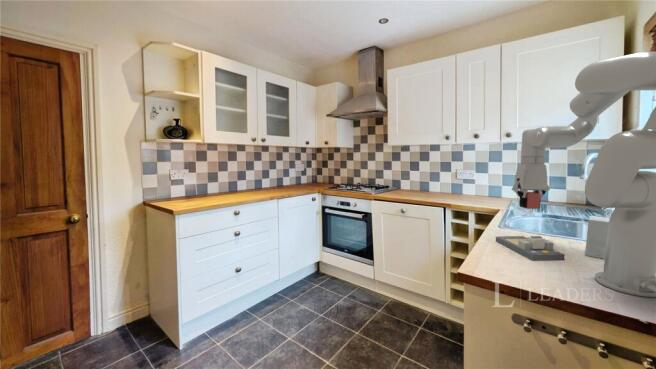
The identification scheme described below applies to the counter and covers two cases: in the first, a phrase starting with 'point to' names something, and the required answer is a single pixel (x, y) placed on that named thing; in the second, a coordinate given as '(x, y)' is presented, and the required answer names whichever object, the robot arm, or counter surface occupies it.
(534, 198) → the red block
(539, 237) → the breaker switch
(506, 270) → the counter surface
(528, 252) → the breaker panel
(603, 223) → the small box
